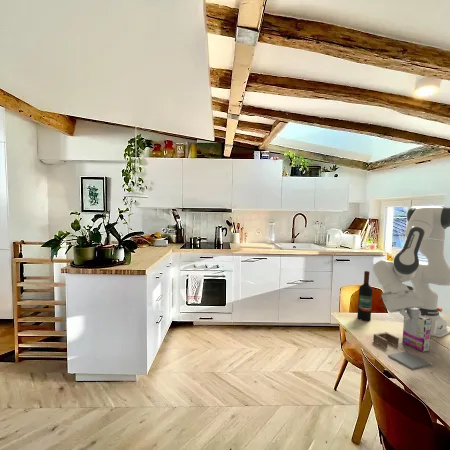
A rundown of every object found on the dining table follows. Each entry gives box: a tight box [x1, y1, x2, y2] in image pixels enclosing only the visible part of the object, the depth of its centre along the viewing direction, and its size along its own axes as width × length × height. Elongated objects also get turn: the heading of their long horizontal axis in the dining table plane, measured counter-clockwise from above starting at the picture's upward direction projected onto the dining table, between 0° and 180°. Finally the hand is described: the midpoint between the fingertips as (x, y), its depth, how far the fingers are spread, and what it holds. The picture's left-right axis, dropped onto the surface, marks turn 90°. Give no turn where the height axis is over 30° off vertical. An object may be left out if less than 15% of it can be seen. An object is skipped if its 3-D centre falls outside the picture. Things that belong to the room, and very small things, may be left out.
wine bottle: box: [356, 270, 373, 322], centre depth 187 cm, size 8×8×30 cm
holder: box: [372, 331, 400, 349], centre depth 154 cm, size 9×7×4 cm
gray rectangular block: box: [405, 307, 419, 334], centre depth 136 cm, size 4×3×11 cm
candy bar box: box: [401, 315, 432, 353], centre depth 151 cm, size 11×5×16 cm, turn 23°
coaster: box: [387, 350, 432, 370], centre depth 138 cm, size 12×12×1 cm
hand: (413, 318), depth 136 cm, fingers closed on gray rectangular block, 4 cm apart
